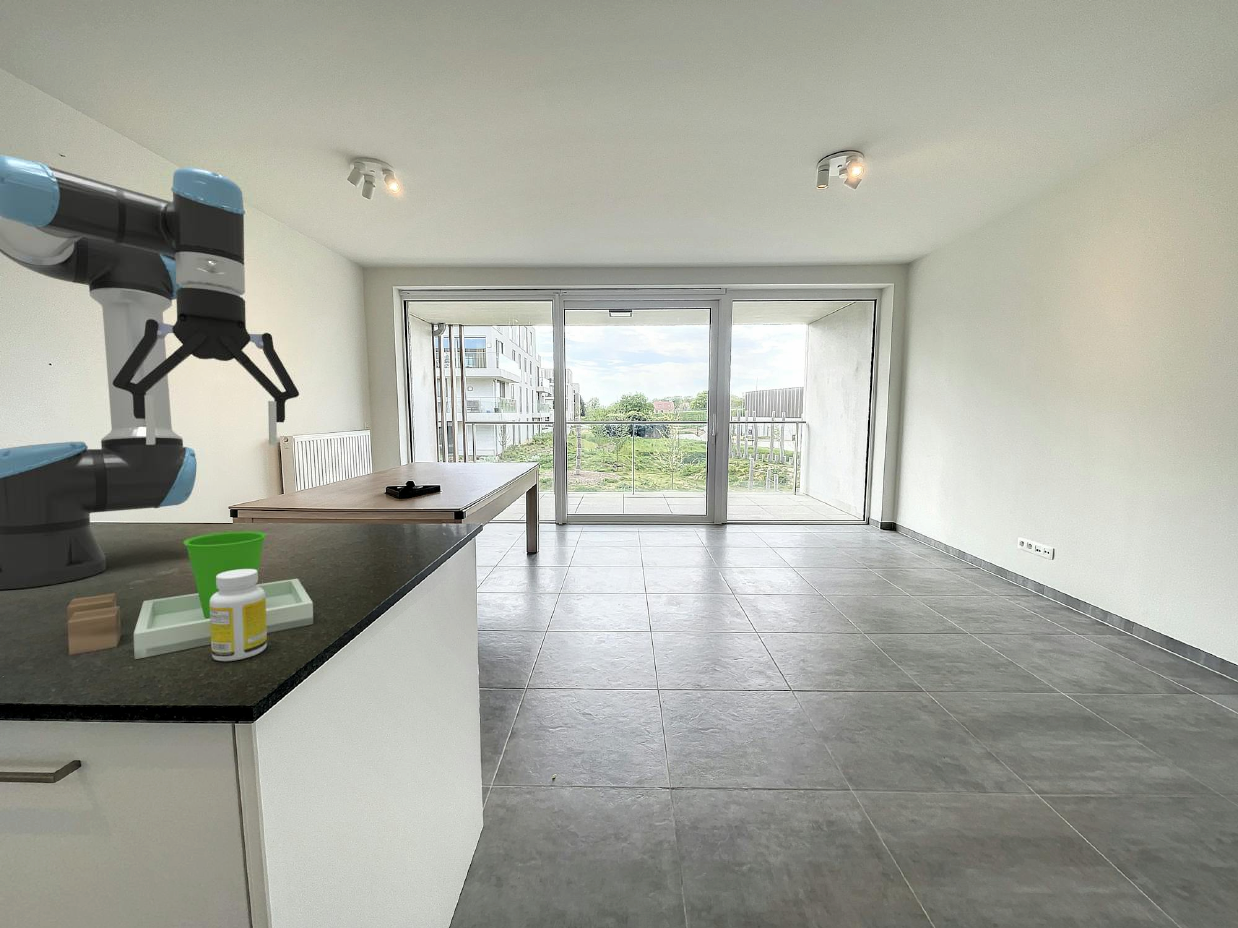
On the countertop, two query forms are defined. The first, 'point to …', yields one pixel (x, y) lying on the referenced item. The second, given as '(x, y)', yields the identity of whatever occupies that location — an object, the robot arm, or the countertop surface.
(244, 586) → the supplement bottle
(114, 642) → the walnut block
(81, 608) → the walnut block
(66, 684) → the countertop surface
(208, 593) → the cup
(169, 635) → the tray
